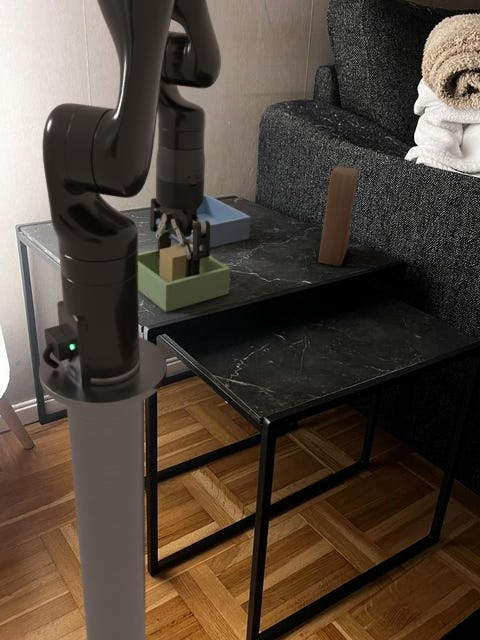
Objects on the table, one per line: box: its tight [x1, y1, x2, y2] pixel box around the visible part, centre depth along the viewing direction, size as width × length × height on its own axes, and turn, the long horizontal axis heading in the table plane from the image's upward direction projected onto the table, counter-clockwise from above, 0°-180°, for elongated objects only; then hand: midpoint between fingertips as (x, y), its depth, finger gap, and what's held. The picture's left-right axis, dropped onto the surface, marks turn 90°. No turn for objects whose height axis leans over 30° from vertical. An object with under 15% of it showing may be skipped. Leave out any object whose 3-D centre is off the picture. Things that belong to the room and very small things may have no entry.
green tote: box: [138, 243, 231, 313], centre depth 104 cm, size 13×13×5 cm
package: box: [160, 244, 193, 282], centre depth 103 cm, size 5×4×6 cm
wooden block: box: [318, 165, 360, 267], centre depth 117 cm, size 9×4×18 cm, turn 163°
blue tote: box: [156, 193, 252, 250], centre depth 126 cm, size 14×16×5 cm
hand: (177, 268), depth 103 cm, fingers open, 8 cm apart
